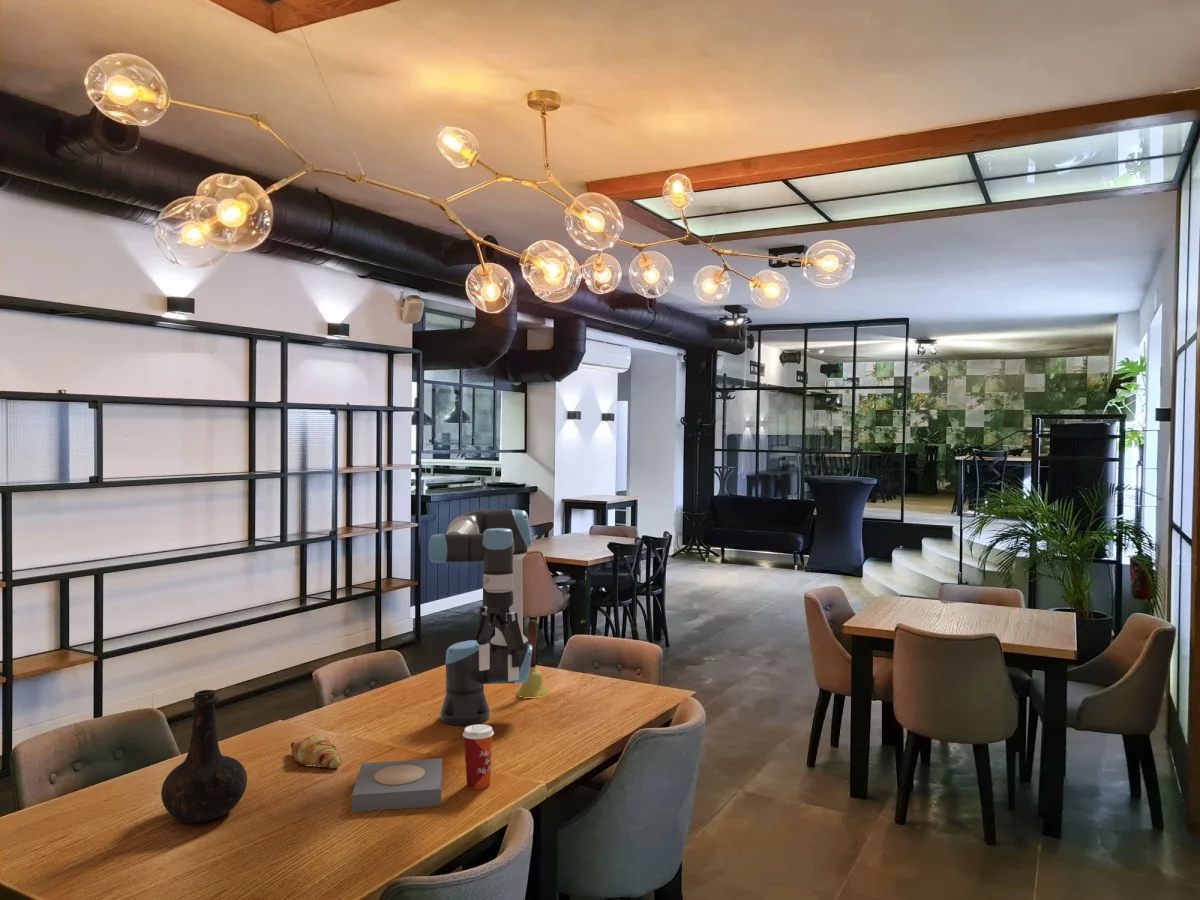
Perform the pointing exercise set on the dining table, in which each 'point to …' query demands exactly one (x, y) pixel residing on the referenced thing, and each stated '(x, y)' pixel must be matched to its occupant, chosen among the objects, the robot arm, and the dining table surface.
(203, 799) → the glass bottle
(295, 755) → the croissant
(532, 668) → the handbell
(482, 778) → the paper cup
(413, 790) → the plinth
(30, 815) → the dining table surface
